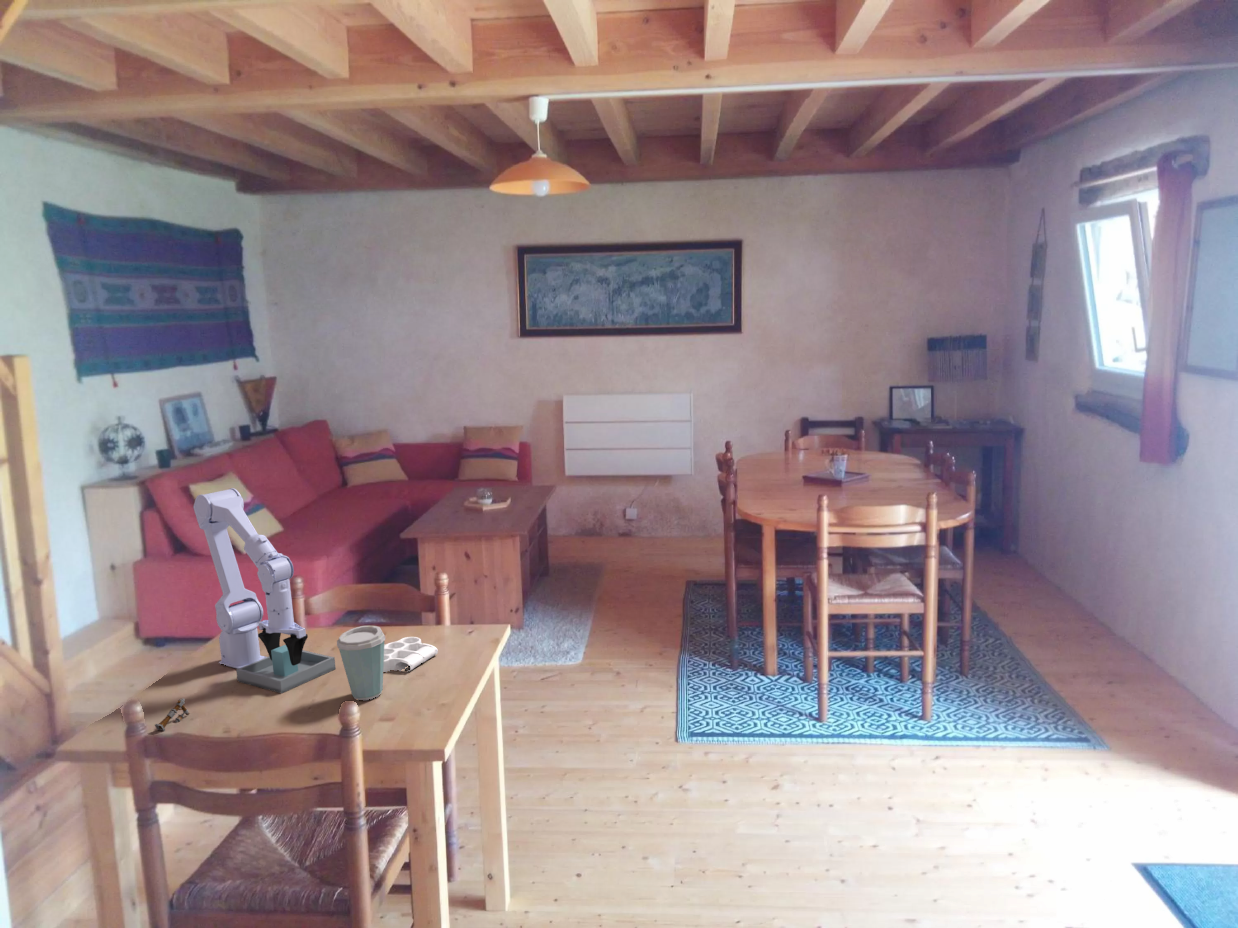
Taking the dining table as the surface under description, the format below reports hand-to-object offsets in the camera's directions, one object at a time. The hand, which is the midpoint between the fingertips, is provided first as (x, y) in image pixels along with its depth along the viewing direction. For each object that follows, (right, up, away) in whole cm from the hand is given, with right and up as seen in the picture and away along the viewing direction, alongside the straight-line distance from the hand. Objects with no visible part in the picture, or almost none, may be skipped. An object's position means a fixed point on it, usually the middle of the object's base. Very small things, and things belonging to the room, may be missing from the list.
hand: (285, 661), depth 224 cm
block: (0, -3, 0) cm, 3 cm away
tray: (0, -3, +1) cm, 3 cm away
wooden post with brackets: (-16, -9, -24) cm, 30 cm away
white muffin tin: (+26, -2, +7) cm, 27 cm away
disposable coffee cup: (+23, -5, -13) cm, 27 cm away
